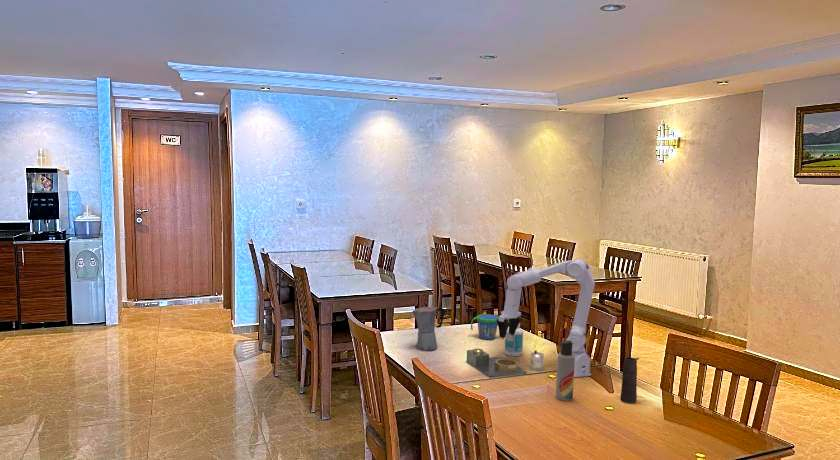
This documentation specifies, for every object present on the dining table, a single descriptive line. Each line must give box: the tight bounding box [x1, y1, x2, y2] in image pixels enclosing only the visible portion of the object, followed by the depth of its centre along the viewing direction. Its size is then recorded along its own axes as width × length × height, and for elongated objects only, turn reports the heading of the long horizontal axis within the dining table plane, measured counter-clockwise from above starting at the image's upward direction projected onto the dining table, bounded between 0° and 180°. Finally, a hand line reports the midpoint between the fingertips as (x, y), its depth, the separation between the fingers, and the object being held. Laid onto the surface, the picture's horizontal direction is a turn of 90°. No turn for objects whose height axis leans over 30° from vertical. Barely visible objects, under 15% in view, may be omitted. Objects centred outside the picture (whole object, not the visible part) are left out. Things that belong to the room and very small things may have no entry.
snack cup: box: [470, 313, 499, 341], centre depth 276 cm, size 16×10×10 cm
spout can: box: [529, 349, 545, 372], centre depth 233 cm, size 5×5×7 cm
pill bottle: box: [504, 322, 524, 357], centre depth 252 cm, size 8×7×14 cm
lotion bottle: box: [555, 340, 575, 402], centre depth 202 cm, size 6×6×20 cm
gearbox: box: [466, 348, 528, 379], centre depth 233 cm, size 20×16×6 cm
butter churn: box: [620, 319, 640, 404], centre depth 201 cm, size 9×10×28 cm
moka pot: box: [411, 302, 446, 352], centre depth 257 cm, size 10×15×20 cm, turn 115°
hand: (506, 335), depth 241 cm, fingers open, 7 cm apart
